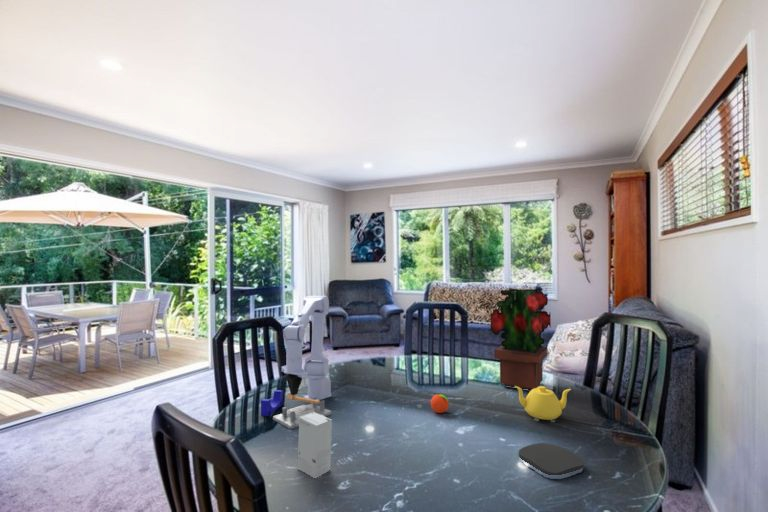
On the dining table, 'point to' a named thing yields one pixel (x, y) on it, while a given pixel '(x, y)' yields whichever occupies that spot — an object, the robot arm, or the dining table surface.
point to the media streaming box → (551, 458)
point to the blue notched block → (271, 403)
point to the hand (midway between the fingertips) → (294, 394)
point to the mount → (300, 414)
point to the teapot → (543, 403)
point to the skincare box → (314, 444)
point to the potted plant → (521, 337)
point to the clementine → (439, 403)
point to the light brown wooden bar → (303, 399)
